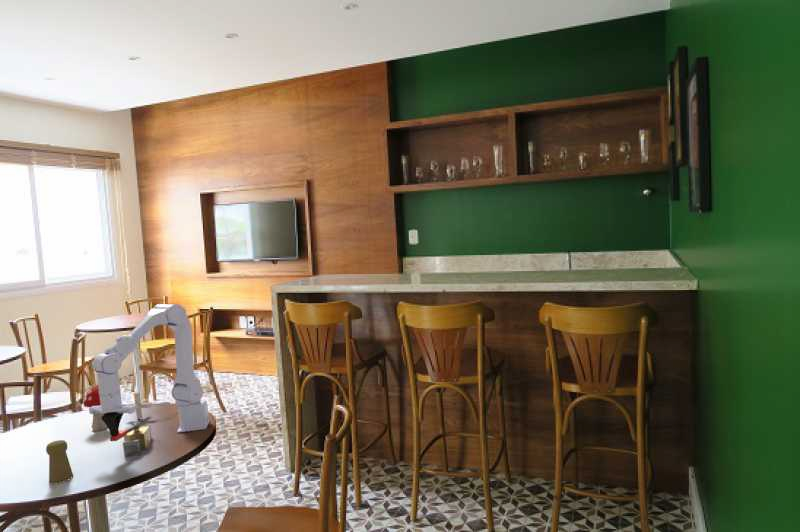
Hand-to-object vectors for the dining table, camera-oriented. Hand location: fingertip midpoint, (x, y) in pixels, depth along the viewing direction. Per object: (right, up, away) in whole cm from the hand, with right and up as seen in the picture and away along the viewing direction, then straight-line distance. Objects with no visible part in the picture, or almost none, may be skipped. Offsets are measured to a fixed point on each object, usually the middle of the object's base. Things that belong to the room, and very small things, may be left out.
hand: (115, 436), depth 174 cm
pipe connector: (-9, -5, +37) cm, 38 cm away
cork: (-10, -9, -12) cm, 18 cm away
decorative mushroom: (-20, -6, +30) cm, 37 cm away
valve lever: (+2, 0, +3) cm, 4 cm away
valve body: (+3, -6, +8) cm, 11 cm away
